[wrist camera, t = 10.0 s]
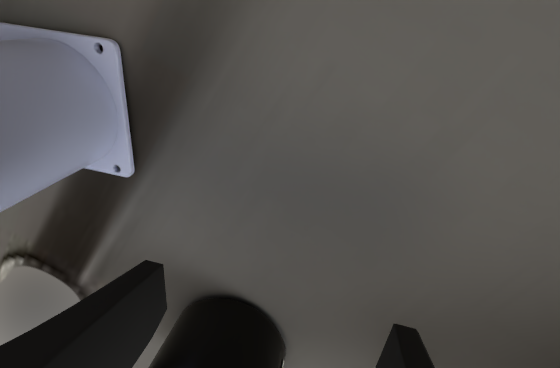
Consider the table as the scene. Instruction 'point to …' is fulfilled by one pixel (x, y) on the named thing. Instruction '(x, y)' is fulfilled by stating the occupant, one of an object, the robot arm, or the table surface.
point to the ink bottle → (221, 338)
